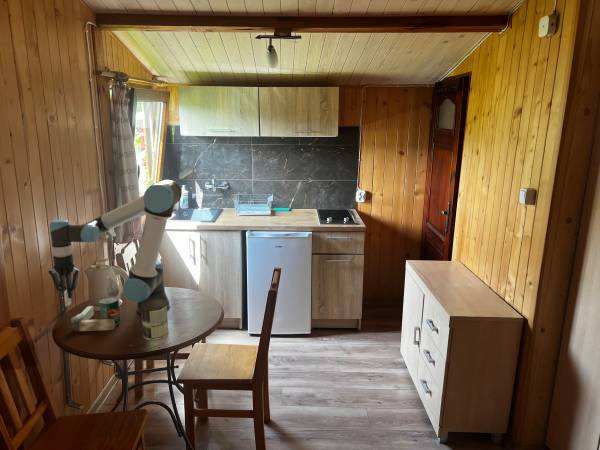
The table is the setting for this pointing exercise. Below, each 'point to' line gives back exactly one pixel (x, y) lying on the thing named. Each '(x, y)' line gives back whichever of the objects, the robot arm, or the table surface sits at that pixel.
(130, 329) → the table surface
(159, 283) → the robot arm
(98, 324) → the tongs fixed arm
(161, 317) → the coffee can
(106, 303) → the canned tomato
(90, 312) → the tongs jaw
